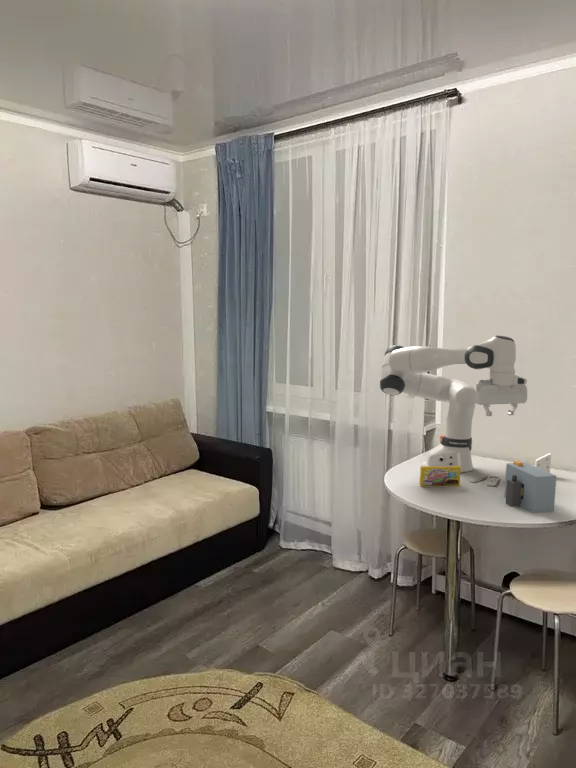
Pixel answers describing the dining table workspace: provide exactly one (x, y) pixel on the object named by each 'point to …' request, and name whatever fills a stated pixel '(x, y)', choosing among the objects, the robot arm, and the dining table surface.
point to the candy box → (440, 476)
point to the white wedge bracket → (544, 462)
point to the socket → (533, 486)
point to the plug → (514, 492)
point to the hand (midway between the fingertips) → (500, 415)
